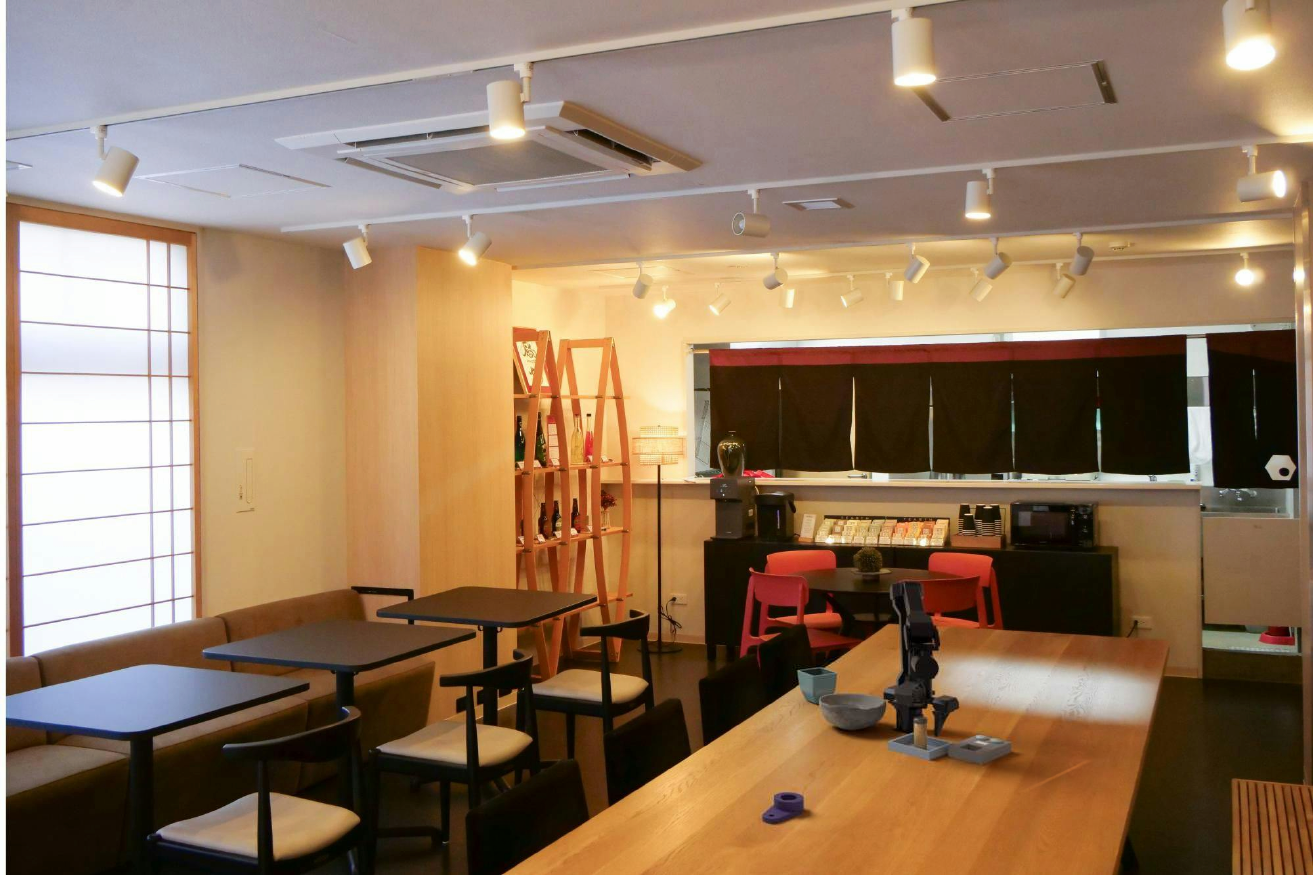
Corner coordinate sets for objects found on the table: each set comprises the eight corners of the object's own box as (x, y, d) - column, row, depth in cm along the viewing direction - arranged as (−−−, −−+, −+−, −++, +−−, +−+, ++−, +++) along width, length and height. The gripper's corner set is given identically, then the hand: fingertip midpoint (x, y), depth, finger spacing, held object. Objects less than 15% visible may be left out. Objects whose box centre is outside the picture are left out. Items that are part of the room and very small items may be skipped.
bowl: (882, 719, 295) (882, 690, 295) (890, 737, 277) (890, 707, 277) (817, 718, 297) (817, 689, 297) (820, 736, 279) (820, 706, 279)
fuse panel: (948, 758, 260) (948, 743, 260) (978, 746, 269) (978, 732, 269) (981, 766, 253) (981, 752, 253) (1010, 754, 263) (1010, 740, 263)
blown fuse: (910, 749, 265) (910, 717, 265) (918, 747, 267) (918, 715, 267) (922, 752, 263) (922, 720, 263) (930, 750, 265) (930, 718, 265)
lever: (783, 804, 229) (783, 790, 229) (809, 810, 225) (809, 796, 225) (753, 820, 220) (753, 805, 220) (779, 827, 216) (779, 812, 216)
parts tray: (887, 751, 266) (887, 741, 266) (912, 742, 273) (912, 732, 273) (929, 762, 257) (929, 751, 257) (953, 752, 264) (953, 742, 264)
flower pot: (796, 699, 317) (796, 669, 317) (821, 696, 321) (821, 666, 321) (813, 706, 309) (812, 675, 309) (838, 703, 313) (838, 672, 313)
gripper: (870, 669, 266) (870, 731, 266) (934, 682, 253) (935, 747, 253) (895, 662, 274) (896, 722, 274) (960, 674, 260) (960, 738, 260)
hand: (920, 732), depth 265 cm, fingers open, 9 cm apart
